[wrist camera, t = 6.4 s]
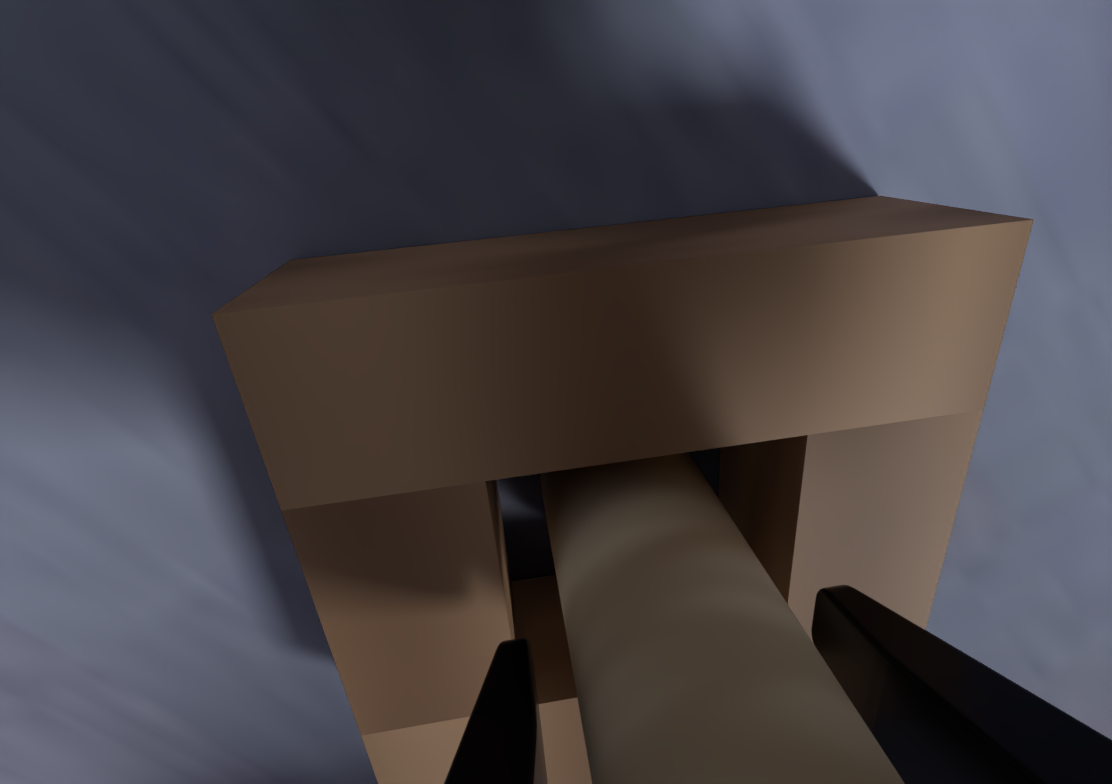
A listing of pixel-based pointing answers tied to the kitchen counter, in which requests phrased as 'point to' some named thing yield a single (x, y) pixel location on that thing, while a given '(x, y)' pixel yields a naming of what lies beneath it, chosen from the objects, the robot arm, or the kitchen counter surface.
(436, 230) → the kitchen counter surface
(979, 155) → the kitchen counter surface
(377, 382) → the square wooden frame
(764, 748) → the wooden dowel
